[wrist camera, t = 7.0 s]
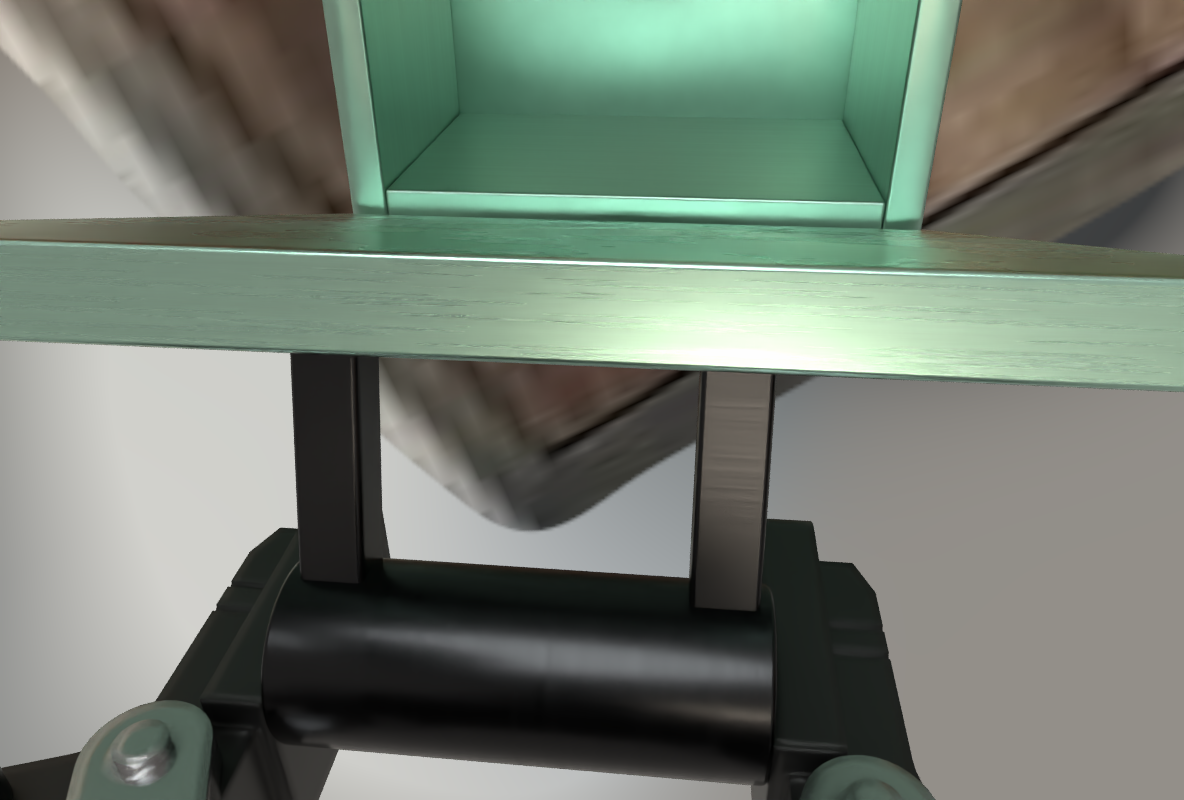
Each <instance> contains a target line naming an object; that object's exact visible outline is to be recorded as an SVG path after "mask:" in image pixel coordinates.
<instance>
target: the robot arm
mask: <svg viewBox="0 0 1184 800" xmlns="http://www.w3.org/2000/svg"><path fill="white" fill-rule="evenodd" d="M382 529H383V558H390V554H389V548H388V541H387V536H386V530H385V524H384V518H383V512H382ZM298 562H299V539H298V529H294V528H279V529H278V530H277V531H276V532H274V533H273V534H272V535H271V536H269V537H268V538H267V539H266V540H264V541H263V542H262V543H261V544H259V545H258V546H257V547H256V548H254V549H253V550H252V551H250V552H249V554H248V556H247V557H246V559H245V561H244V562H243V564H242V565H241V567H240V568H239V570H238V571H237V573H236V575H235V576H234V578H233V580H232V585H231V587H227V589H226V590H225V592H224V594H223V595H222V597H221V598H220V600H219V602H218V603H217V608H216V611H212V613H211V614H210V616H209V618H208V619H207V621H206V622H205V624H204V625H203V627H202V628H201V630H200V632H199V633H198V635H197V636H196V638H195V640H194V641H193V643H192V644H191V646H190V647H189V649H188V651H187V652H186V654H185V655H184V657H183V659H182V660H181V662H180V663H179V665H178V666H177V668H176V670H175V671H174V673H173V674H172V676H171V677H170V679H169V681H168V683H167V684H166V685H165V687H164V689H163V690H162V692H161V693H160V695H159V696H158V698H157V699H156V701H155V702H152V703H148V704H143V705H140V706H138V707H135V708H133V709H130V710H128V711H126V712H124V713H122V714H120V715H118V716H117V717H115V718H114V719H112V720H111V721H109V722H108V723H107V724H105V725H104V726H103V727H102V728H101V729H99V730H98V731H97V732H96V733H95V734H94V735H93V736H92V737H91V738H90V739H89V741H88V742H87V744H86V745H85V746H84V747H83V749H82V751H81V752H77V753H73V754H70V755H64V756H59V757H54V758H49V759H44V760H40V761H34V762H30V763H25V764H19V765H14V766H9V767H4V768H1V767H0V800H319V797H320V795H321V792H322V790H323V787H324V785H325V782H326V780H327V777H328V775H329V772H330V770H331V767H332V765H333V762H334V760H335V757H336V755H337V752H338V750H339V749H329V748H318V747H306V746H295V745H285V744H283V743H280V742H279V741H277V740H276V739H275V738H274V737H273V736H272V734H271V733H270V731H269V729H268V727H267V724H266V721H265V717H264V713H263V707H262V699H261V666H262V656H263V649H264V642H265V637H266V632H267V627H268V624H269V620H270V616H271V613H272V610H273V607H274V603H275V601H276V598H277V596H278V593H279V591H280V589H281V587H282V585H283V583H284V581H285V579H286V577H287V576H288V574H289V572H290V571H291V570H292V568H293V567H294V566H295V565H296V564H297V563H298ZM762 583H765V584H767V585H769V586H770V588H771V590H772V593H773V597H774V603H775V611H776V623H777V646H778V693H777V718H776V734H775V745H774V754H773V762H772V767H771V772H770V776H769V778H768V781H767V783H766V784H765V785H763V786H754V785H751V795H752V800H935V799H934V797H933V796H932V794H931V793H930V792H929V790H928V789H927V788H926V787H925V786H924V785H923V784H922V782H921V780H920V779H919V776H918V774H917V772H916V770H915V767H914V763H913V760H912V756H911V751H910V746H909V742H908V738H907V733H906V728H905V724H904V719H903V715H902V710H901V706H900V702H899V697H898V692H897V688H896V683H895V679H894V674H893V670H892V665H891V661H890V659H889V658H888V654H889V652H888V647H887V643H886V638H885V634H884V632H883V631H882V627H883V625H882V620H881V616H880V611H879V607H878V602H877V598H876V593H875V591H874V590H873V589H872V588H871V587H870V585H869V584H868V583H867V581H866V580H865V579H864V577H863V576H862V575H861V573H860V572H859V571H858V570H857V568H856V567H855V566H854V564H852V563H843V562H825V561H819V559H818V552H817V546H816V539H815V532H814V527H813V523H812V522H811V521H798V520H780V519H767V523H766V537H765V551H764V566H763V580H762Z"/></svg>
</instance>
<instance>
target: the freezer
mask: <svg viewBox="0 0 1184 800" xmlns="http://www.w3.org/2000/svg"><path fill="white" fill-rule="evenodd" d="M322 2H323V9H324V15H325V22H326V29H327V36H328V43H329V50H330V56H331V63H332V70H333V77H334V84H335V91H336V97H337V104H338V111H339V118H340V125H341V132H342V138H343V145H344V152H345V159H346V166H347V173H348V179H349V186H350V193H351V200H352V207H353V214H376V215H411V216H447V217H482V218H518V219H553V220H589V221H624V222H660V223H695V224H731V225H766V226H802V227H838V228H873V229H909V230H921V226H922V221H923V215H924V210H925V204H926V199H927V193H928V188H929V182H930V177H931V171H932V166H933V160H934V155H935V149H936V144H937V138H938V133H939V127H940V122H941V116H942V111H943V105H944V100H945V94H946V89H947V83H948V78H949V72H950V67H951V61H952V56H953V50H954V45H955V39H956V33H957V28H958V22H959V17H960V11H961V6H962V0H322Z"/></svg>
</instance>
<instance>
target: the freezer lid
mask: <svg viewBox="0 0 1184 800" xmlns="http://www.w3.org/2000/svg"><path fill="white" fill-rule="evenodd" d="M0 340H3V341H26V342H27V341H28V342H49V343H72V344H94V345H95V344H96V345H117V346H118V345H119V346H140V347H163V348H186V349H187V348H188V349H209V350H233V351H254V352H255V351H256V352H277V353H290V355H291V378H292V397H293V398H292V401H293V424H294V445H295V446H294V447H295V470H296V493H297V515H298V539H299V562H298V563H297V564H296V565H295V566H294V567H293V568H292V570H291V571H290V572H289V574H288V576H287V577H286V579H285V581H284V583H283V585H282V587H281V589H280V591H279V593H278V596H277V598H276V601H275V603H274V607H273V610H272V613H271V616H270V620H269V624H268V627H267V632H266V637H265V642H264V649H263V656H262V666H261V699H262V707H263V713H264V717H265V721H266V724H267V727H268V729H269V731H270V733H271V734H272V736H273V737H274V738H275V739H276V740H277V741H279V742H280V743H283V744H285V745H295V746H306V747H318V748H329V749H340V750H352V751H364V752H375V753H386V754H387V753H388V754H398V755H409V756H421V757H432V758H445V759H455V760H456V759H457V760H467V761H478V762H490V763H501V764H513V765H524V766H536V767H547V768H559V769H571V770H581V771H594V772H606V773H616V774H627V775H639V776H651V777H662V778H673V779H685V780H697V781H709V782H719V783H731V784H742V785H754V786H763V785H765V784H766V783H767V781H768V778H769V776H770V772H771V767H772V762H773V754H774V745H775V734H776V718H777V693H778V646H777V623H776V611H775V603H774V597H773V593H772V590H771V588H770V586H769V585H767V584H765V583H762V580H763V566H764V551H765V537H766V523H767V507H768V494H769V479H770V464H771V450H772V435H773V421H774V407H775V392H776V378H777V374H780V375H803V376H826V377H849V378H873V379H895V380H918V381H919V380H920V381H940V382H964V383H986V384H1010V385H1032V386H1056V387H1077V388H1100V389H1123V390H1147V391H1169V392H1184V255H1177V254H1167V253H1156V252H1145V251H1136V250H1125V249H1115V248H1104V247H1094V246H1084V245H1074V244H1063V243H1053V242H1043V241H1032V240H1022V239H1012V238H1002V237H991V236H981V235H971V234H960V233H950V232H940V231H929V230H909V229H873V228H838V227H802V226H766V225H731V224H695V223H660V222H624V221H589V220H553V219H518V218H482V217H447V216H411V215H376V214H309V215H255V216H202V217H152V218H151V217H150V218H149V217H148V218H98V219H97V218H95V219H43V220H0ZM379 357H392V358H414V359H437V360H460V361H483V362H506V363H529V364H552V365H574V366H597V367H620V368H643V369H666V370H689V371H700V376H699V396H698V415H697V435H696V454H695V474H694V495H693V514H692V533H691V553H690V571H689V578H680V577H665V576H648V575H634V574H619V573H604V572H588V571H573V570H559V569H543V568H528V567H513V566H497V565H483V564H467V563H452V562H437V561H422V560H406V559H391V558H383V529H382V490H381V489H382V487H381V443H380V399H379Z"/></svg>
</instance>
